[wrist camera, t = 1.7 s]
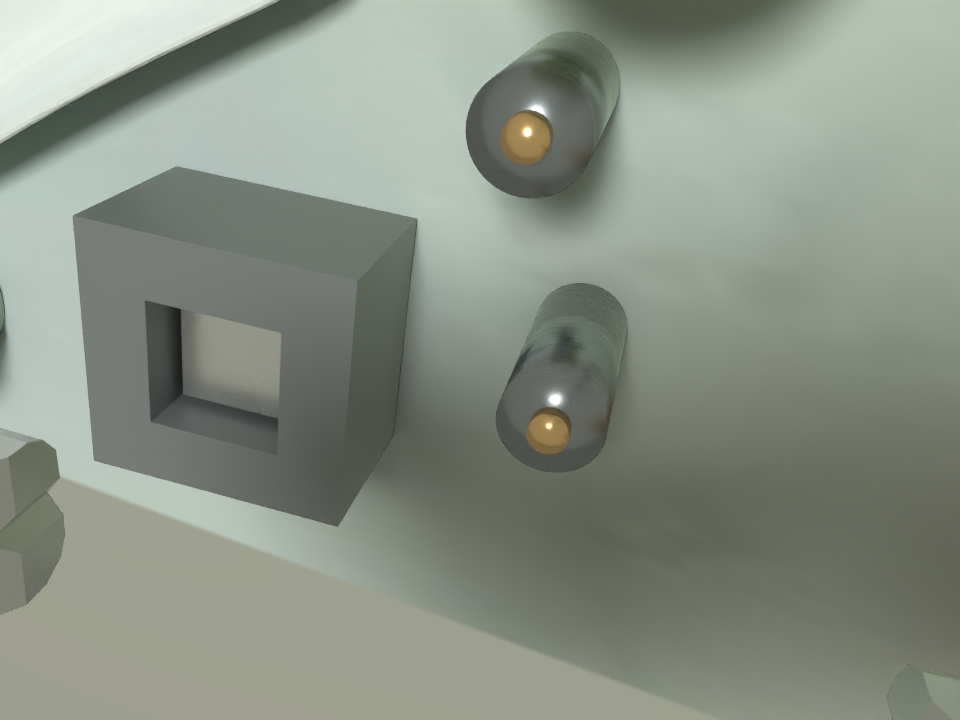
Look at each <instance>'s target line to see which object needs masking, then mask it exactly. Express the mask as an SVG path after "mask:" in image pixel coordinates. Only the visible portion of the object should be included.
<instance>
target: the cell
mask: <svg viewBox="0 0 960 720" xmlns="http://www.w3.org/2000/svg"><path fill="white" fill-rule="evenodd" d="M619 92H620V75H619V71H618V67H617V64H616V62H615V60H614V58H613V56H612V54H611V53H610V52H609V50H608V49H607V48H606V47H605V46H604V45H603V44H602V43H601V42H599V41H598V40H596V39H595V38H593V37H591V36H589V35H586V34H583V33H579V32H561V33H557V34H554V35H551V36H549V37H547V38H545V39H543V40H542V41H540V42H539V43H538V44H536V45H535V46H534V47H532V48H531V49H530V50H529V51H527V52H526V53H525V54H523V55H522V56H521V57H519V58H518V59H517V60H515V61H514V62H513V63H512V64H510V65H509V66H508V67H506V68H505V69H504V70H502V71H501V72H500V73H498V74H497V75H496V76H494V77H493V78H492V79H491V80H489V81H488V82H487V83H486V84H485V85H484V86H483V87H482V88H481V89H480V91H479V92H478V93H477V95H476V96H475V98H474V100H473V102H472V104H471V106H470V109H469V112H468V116H467V121H466V140H467V146H468V149H469V153H470V156H471V158H472V160H473V162H474V164H475V166H476V167H477V169H478V170H479V172H480V173H481V174H482V175H483V177H484V178H485V179H486V180H487V181H488V182H490V183H491V184H492V185H494V186H495V187H496V188H498V189H500V190H501V191H503V192H505V193H508V194H510V195H514V196H517V197H523V198H541V197H546V196H550V195H553V194H555V193H558V192H560V191H562V190H563V189H565V188H567V187H568V186H569V185H571V184H572V183H573V182H574V181H575V180H576V179H577V178H578V177H579V176H580V174H581V173H582V172H583V170H584V169H585V167H586V165H587V164H588V161H589V159H590V157H591V155H592V153H593V151H594V149H595V147H596V145H597V143H598V141H599V139H600V137H601V135H602V133H603V131H604V129H605V127H606V125H607V123H608V121H609V119H610V116H611V114H612V112H613V110H614V108H615V106H616V104H617V101H618V97H619Z"/></svg>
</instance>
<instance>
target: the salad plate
mask: <svg viewBox="0 0 960 720" xmlns="http://www.w3.org/2000/svg"><path fill="white" fill-rule="evenodd" d="M278 1H280V0H0V144H1V143H2V142H4V141H6V140H7V139H9V138H11V137H12V136H14V135H16V134H17V133H19V132H21V131H22V130H24V129H26V128H28V127H29V126H31V125H33V124H35V123H36V122H38V121H40V120H42V119H44V118H45V117H47V116H49V115H50V114H52V113H54V112H55V111H57V110H59V109H60V108H62V107H64V106H66V105H68V104H70V103H71V102H73V101H75V100H77V99H79V98H81V97H83V96H85V95H86V94H88V93H90V92H92V91H94V90H96V89H98V88H100V87H102V86H104V85H106V84H108V83H110V82H112V81H114V80H116V79H117V78H119V77H121V76H123V75H125V74H127V73H129V72H131V71H133V70H135V69H137V68H139V67H141V66H143V65H145V64H147V63H149V62H151V61H153V60H155V59H157V58H159V57H161V56H163V55H166V54H168V53H170V52H172V51H174V50H177V49H179V48H181V47H183V46H185V45H187V44H189V43H190V42H193V41H195V40H198V39H200V38H202V37H204V36H206V35H208V34H210V33H213V32H215V31H217V30H219V29H221V28H223V27H225V26H228V25H230V24H232V23H234V22H236V21H238V20H240V19H243V18H245V17H247V16H249V15H251V14H253V13H256V12H258V11H260V10H262V9H264V8H266V7H268V6H270V5H272V4H274V3H276V2H278Z"/></svg>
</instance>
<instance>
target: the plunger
mask: <svg viewBox="0 0 960 720" xmlns="http://www.w3.org/2000/svg"><path fill="white" fill-rule="evenodd" d="M181 336H182V374H183V394H184V395H188V396H192V397H196V398H200V399H204V400H208V401H211V402H215V403H219V404H223V405H227V406H231V407H235V408H239V409H243V410H247V411H250V412H254V413H258V414H262V415H266V416H270V417H274V418H278V412H279V383H280V355H281V333H279V332H275V331H270V330H266V329H262V328H258V327H254V326H250V325H246V324H242V323H237V322H233V321H229V320H225V319H221V318H217V317H213V316H208V315H204V314H200V313H196V312H192V311H188V310H184V309H181Z"/></svg>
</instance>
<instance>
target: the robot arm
mask: <svg viewBox="0 0 960 720" xmlns="http://www.w3.org/2000/svg"><path fill="white" fill-rule="evenodd" d="M59 478H60V475H59V468H58V461H57V454H56V449H54V448H53V447H52V446H50V445H49V444H48V443H46V442H45V441H44V440H41V439H37V438H34V437H30V436H27V435H23V434H20V433H16V432H13V431H9V430H6V429H2V428H0V615H1V614H4V613H7V612H9V611H12V610H14V609H17V608H19V607H22V606H25V605H27V604H28V603H29V602H30V601H31V600H32V598H34V597H35V595H37V593H39V591H40V590H41V589H42V588H43V587H44V586H45V585H46V584H47V582H48V580H49V578H50V577H51V575H52V573H53V571H54V569H55V567H56V565H57V563H58V561H59V559H60V558H61V554H62V548H63V542H64V537H65V528H64V515H63V513H62V512H61V510H60V509H59V507H58V506H57V504H56V503H55V502H54V500H53V499H52V497H51V496H50V495H49V493H48V491H49V490H50V489H51V487H53V485H54V484H55V483H56V482H57V481H58V479H59ZM886 697H887V701H888V705H889V709H890V713H891V718H892V720H960V677H957V676H953V675H949V674H945V673H941V672H937V671H933V670H929V669H925V668H921V667H917V666H913V665H909V664H908V665H907V666H906V667H905V668H904V669H903V670H902V671H901V672H900V673H899V674H898V675H897V676H896V678H895V680H894V682H893V684H892V686H891V688H890V690H889V692H888V694H887V696H886Z"/></svg>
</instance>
